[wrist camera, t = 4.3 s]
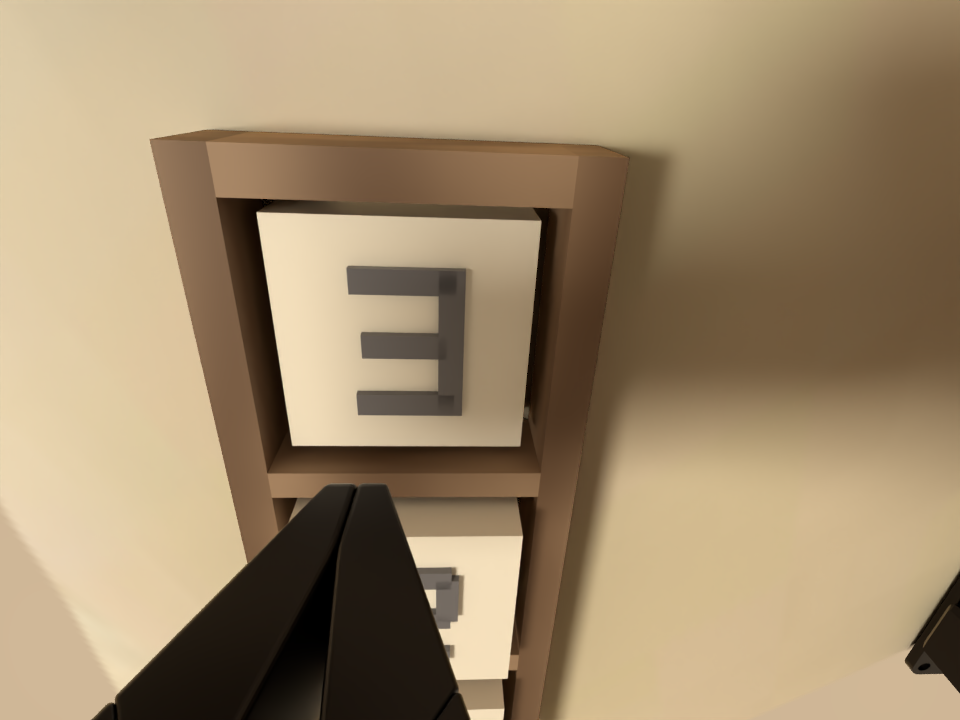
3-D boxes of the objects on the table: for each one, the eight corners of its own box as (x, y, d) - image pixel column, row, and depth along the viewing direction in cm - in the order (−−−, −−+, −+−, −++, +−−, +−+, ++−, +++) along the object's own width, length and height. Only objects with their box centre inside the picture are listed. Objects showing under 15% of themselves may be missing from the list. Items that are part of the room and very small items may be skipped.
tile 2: (516, 495, 15) (523, 542, 13) (503, 633, 17) (508, 685, 16) (298, 496, 14) (280, 544, 13) (320, 637, 17) (307, 690, 16)
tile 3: (531, 207, 13) (543, 223, 11) (514, 415, 15) (521, 451, 14) (277, 198, 12) (253, 214, 11) (306, 414, 15) (290, 450, 13)
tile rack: (597, 145, 12) (629, 157, 10) (520, 721, 23) (527, 787, 21) (206, 129, 12) (149, 138, 10) (315, 727, 23) (301, 796, 21)
